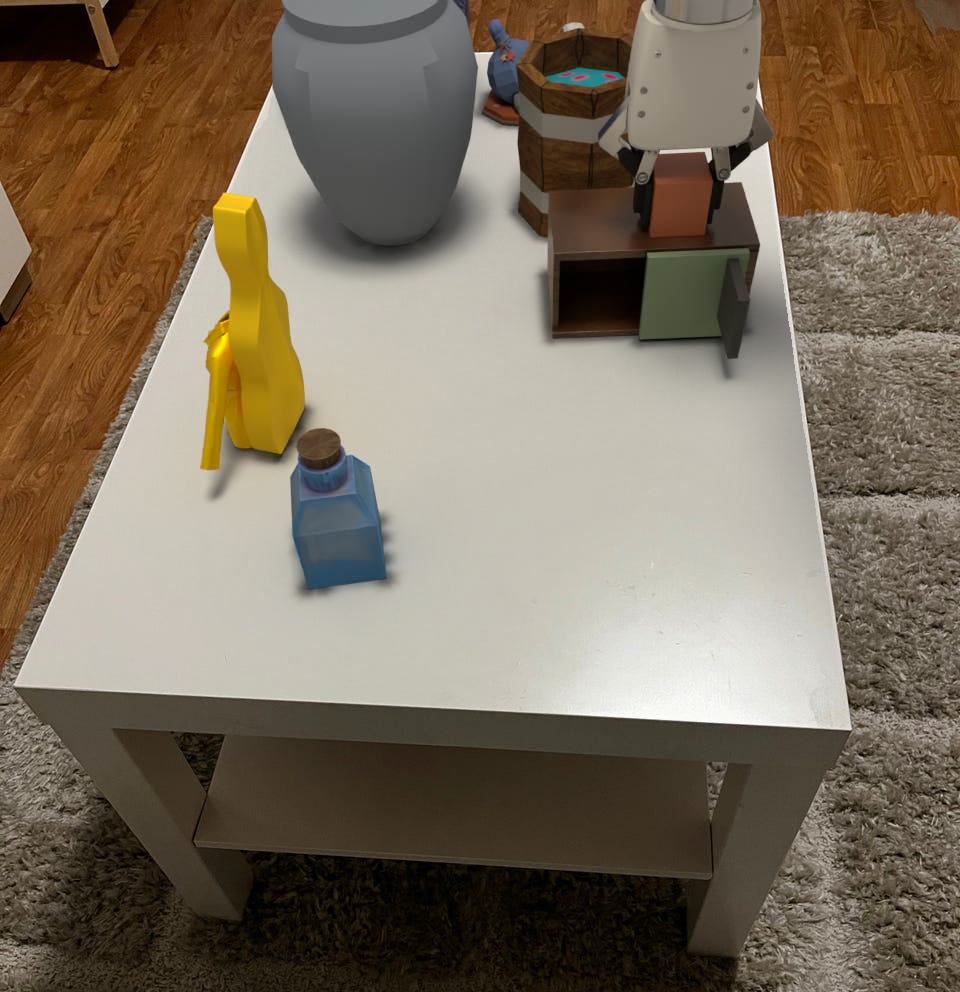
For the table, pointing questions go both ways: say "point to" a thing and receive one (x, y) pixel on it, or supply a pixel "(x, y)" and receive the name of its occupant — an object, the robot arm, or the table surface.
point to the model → (503, 76)
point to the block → (680, 195)
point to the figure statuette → (250, 342)
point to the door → (696, 296)
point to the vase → (377, 107)
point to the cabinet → (622, 256)
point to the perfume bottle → (334, 513)
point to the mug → (569, 115)
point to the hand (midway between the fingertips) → (674, 215)
